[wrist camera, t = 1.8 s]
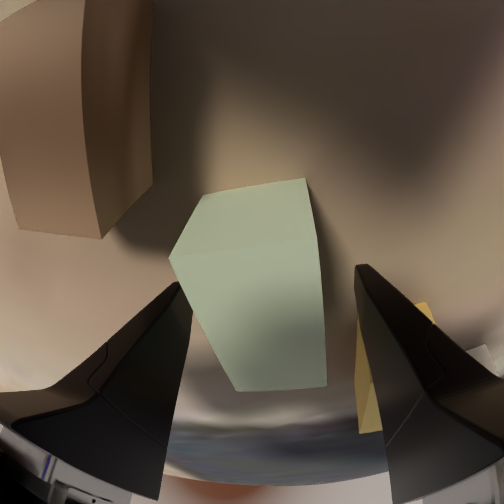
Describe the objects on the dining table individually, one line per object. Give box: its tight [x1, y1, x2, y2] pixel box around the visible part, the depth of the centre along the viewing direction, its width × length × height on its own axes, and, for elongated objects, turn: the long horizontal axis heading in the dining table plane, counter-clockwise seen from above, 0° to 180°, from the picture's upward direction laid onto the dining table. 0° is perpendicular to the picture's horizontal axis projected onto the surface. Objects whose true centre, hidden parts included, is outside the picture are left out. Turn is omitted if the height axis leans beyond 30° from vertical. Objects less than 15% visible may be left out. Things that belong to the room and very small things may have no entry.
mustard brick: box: [354, 302, 436, 434], centre depth 11 cm, size 6×3×4 cm, turn 14°
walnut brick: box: [0, 0, 154, 239], centre depth 6 cm, size 6×3×4 cm, turn 176°
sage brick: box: [168, 178, 327, 392], centre depth 9 cm, size 6×3×4 cm, turn 12°
